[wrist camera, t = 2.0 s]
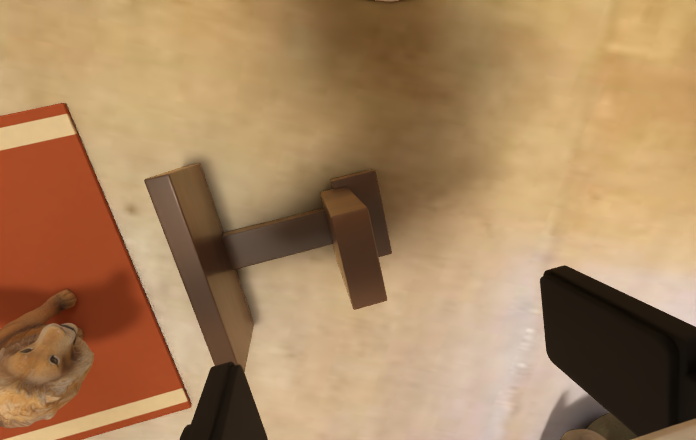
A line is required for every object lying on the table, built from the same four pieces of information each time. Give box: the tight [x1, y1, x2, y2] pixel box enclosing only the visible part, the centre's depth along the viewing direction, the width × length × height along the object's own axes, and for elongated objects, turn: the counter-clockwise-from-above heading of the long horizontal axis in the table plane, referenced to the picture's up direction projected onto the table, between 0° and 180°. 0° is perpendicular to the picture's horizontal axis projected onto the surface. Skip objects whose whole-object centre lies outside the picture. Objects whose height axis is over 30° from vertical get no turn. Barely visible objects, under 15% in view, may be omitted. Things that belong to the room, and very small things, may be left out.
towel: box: [0, 103, 191, 440], centre depth 23 cm, size 22×15×1 cm
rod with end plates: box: [144, 163, 392, 372], centre depth 21 cm, size 12×12×8 cm
